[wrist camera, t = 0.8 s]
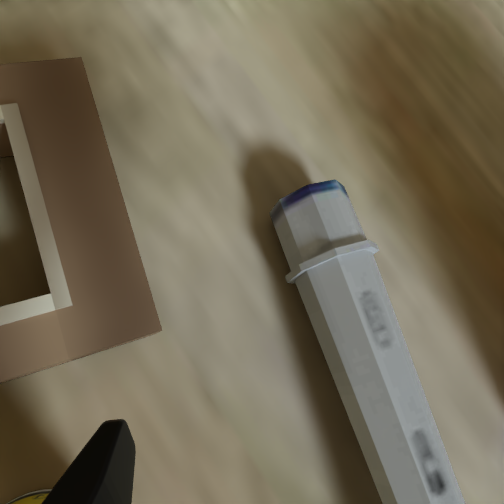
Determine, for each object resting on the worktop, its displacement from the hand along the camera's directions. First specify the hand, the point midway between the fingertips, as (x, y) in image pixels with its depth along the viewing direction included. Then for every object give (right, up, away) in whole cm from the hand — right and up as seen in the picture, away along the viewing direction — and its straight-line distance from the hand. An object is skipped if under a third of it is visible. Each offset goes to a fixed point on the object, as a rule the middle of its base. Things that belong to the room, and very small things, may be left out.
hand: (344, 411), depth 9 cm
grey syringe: (+4, -6, +14) cm, 16 cm away
